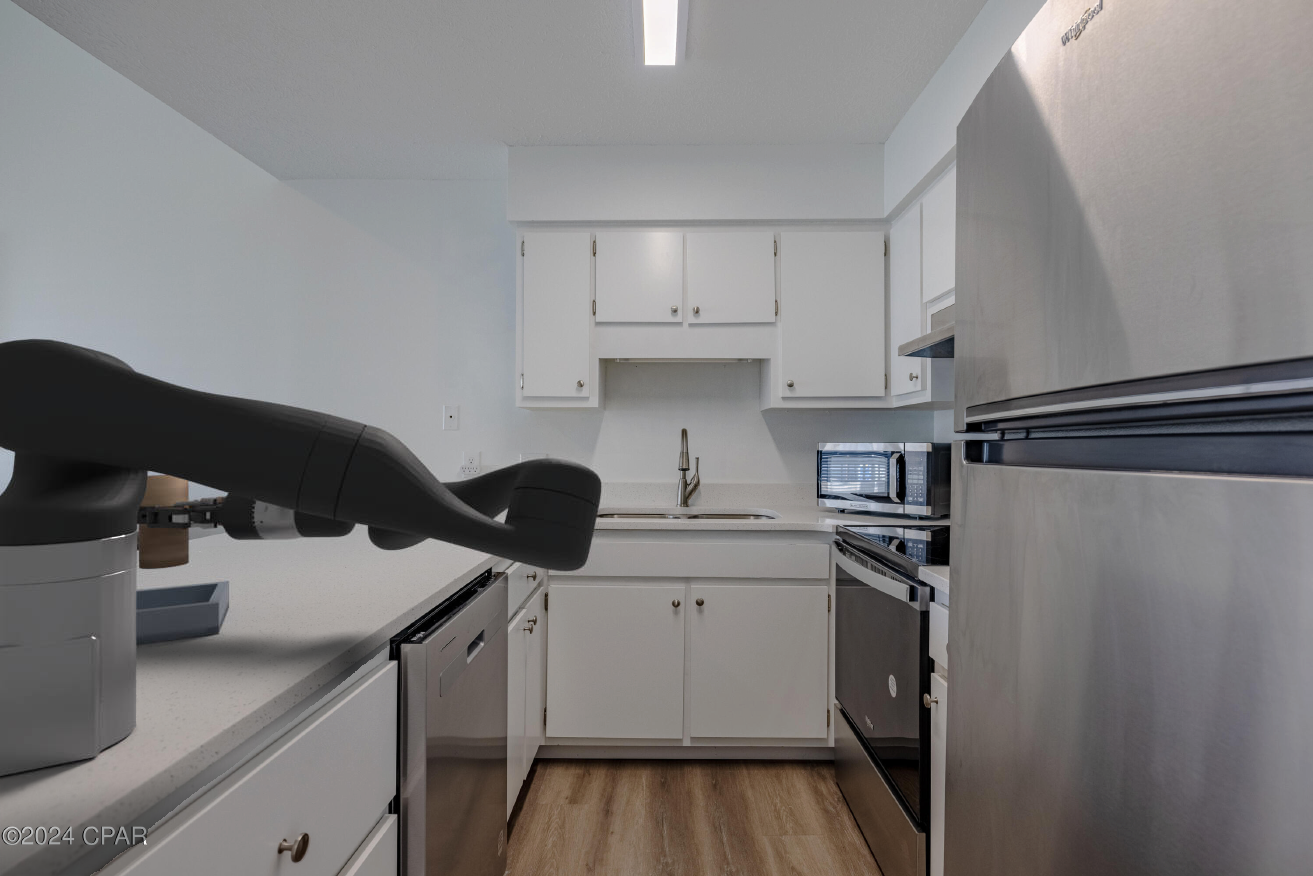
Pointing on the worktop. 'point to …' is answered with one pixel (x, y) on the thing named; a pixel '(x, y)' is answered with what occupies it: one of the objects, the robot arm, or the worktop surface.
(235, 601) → the worktop surface
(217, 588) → the tray
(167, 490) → the canister
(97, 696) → the robot arm
